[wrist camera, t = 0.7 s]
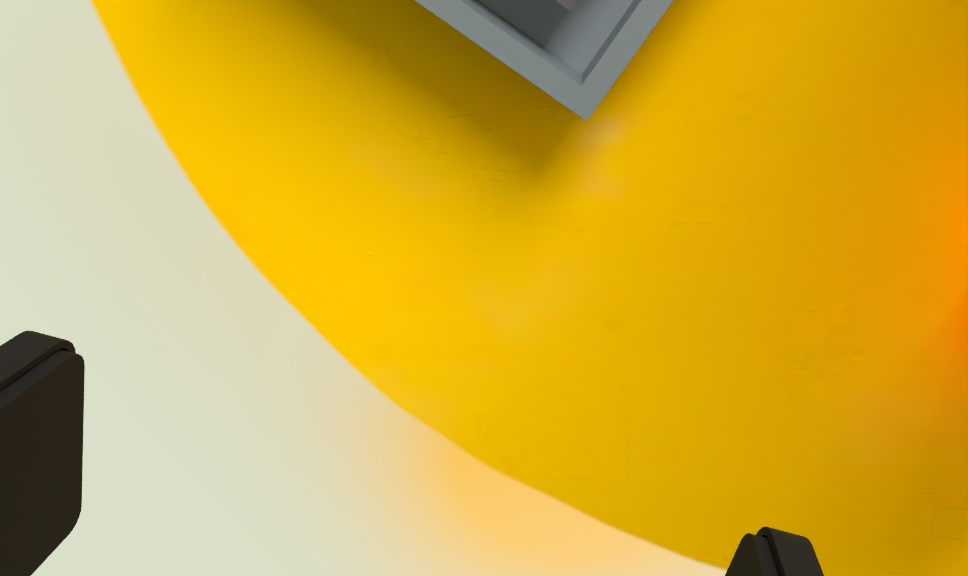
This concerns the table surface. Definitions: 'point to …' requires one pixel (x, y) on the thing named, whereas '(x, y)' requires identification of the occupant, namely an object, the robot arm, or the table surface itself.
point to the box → (558, 40)
